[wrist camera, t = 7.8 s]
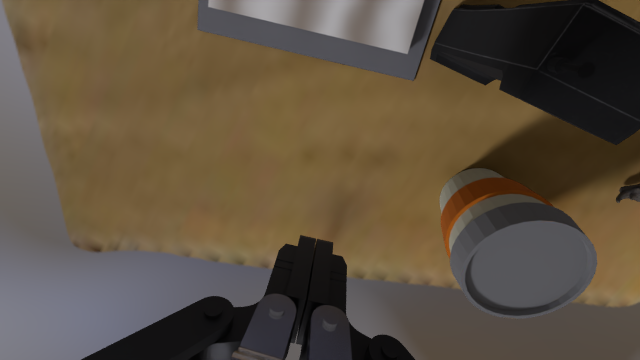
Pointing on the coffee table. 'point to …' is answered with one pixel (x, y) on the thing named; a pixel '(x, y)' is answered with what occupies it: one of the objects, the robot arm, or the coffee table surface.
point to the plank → (339, 18)
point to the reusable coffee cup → (512, 246)
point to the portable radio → (553, 59)
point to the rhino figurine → (629, 193)
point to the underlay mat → (322, 40)
